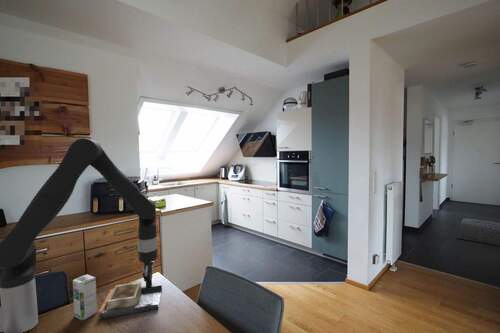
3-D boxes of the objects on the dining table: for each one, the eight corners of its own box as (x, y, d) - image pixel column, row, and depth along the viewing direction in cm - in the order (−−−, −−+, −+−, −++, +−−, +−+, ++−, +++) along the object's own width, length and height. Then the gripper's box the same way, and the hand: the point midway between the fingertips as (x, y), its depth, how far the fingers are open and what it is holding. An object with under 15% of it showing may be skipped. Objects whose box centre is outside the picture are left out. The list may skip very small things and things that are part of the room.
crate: (107, 313, 96) (107, 301, 96) (116, 296, 107) (115, 285, 107) (135, 309, 98) (135, 297, 98) (141, 292, 110) (140, 282, 109)
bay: (99, 319, 94) (98, 311, 93) (111, 296, 108) (110, 289, 108) (158, 310, 99) (157, 302, 98) (162, 288, 114) (161, 282, 113)
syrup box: (73, 316, 95) (71, 280, 94) (89, 307, 101) (87, 273, 100) (82, 321, 93) (79, 283, 92) (98, 312, 98) (96, 276, 97)
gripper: (141, 242, 109) (142, 281, 110) (134, 255, 96) (136, 298, 97) (159, 241, 111) (160, 278, 112) (155, 253, 98) (156, 295, 99)
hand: (148, 287), depth 105 cm, fingers closed
